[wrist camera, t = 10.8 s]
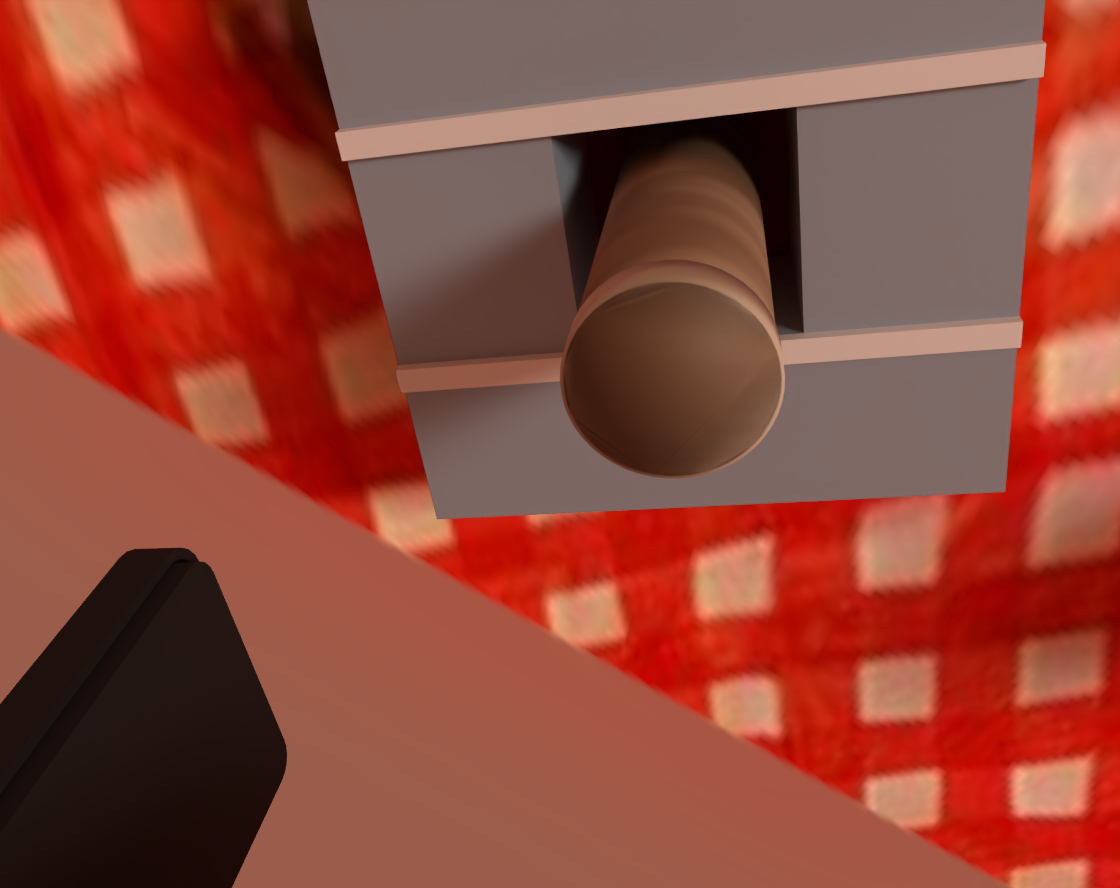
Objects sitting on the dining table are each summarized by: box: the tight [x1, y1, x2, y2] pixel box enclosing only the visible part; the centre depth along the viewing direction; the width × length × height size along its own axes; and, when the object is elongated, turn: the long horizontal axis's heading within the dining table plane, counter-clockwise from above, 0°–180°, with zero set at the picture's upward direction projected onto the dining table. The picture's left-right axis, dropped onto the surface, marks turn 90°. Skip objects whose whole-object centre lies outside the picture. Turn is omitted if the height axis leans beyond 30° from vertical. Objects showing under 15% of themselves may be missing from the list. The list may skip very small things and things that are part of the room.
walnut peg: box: [560, 115, 785, 478], centre depth 21 cm, size 4×4×12 cm
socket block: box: [307, 0, 1046, 519], centre depth 24 cm, size 14×14×5 cm
